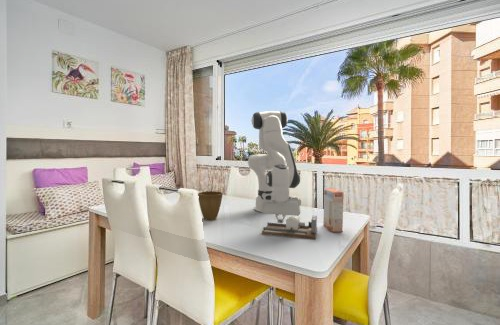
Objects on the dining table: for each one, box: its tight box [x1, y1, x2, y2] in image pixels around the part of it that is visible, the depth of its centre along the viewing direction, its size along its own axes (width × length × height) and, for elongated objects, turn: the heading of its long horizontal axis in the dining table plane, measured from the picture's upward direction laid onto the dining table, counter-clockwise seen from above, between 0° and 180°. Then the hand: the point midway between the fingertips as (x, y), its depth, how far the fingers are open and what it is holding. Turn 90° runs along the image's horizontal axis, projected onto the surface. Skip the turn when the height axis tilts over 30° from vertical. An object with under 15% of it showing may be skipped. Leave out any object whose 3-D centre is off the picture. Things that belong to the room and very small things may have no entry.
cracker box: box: [322, 188, 344, 233], centre depth 147 cm, size 14×6×21 cm, turn 3°
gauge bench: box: [261, 224, 318, 240], centre depth 141 cm, size 15×26×2 cm, turn 73°
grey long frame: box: [262, 215, 318, 235], centre depth 140 cm, size 10×26×7 cm, turn 73°
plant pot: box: [197, 190, 223, 221], centre depth 166 cm, size 15×15×16 cm
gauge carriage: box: [285, 215, 306, 230], centre depth 138 cm, size 10×9×6 cm
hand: (280, 222), depth 142 cm, fingers closed
